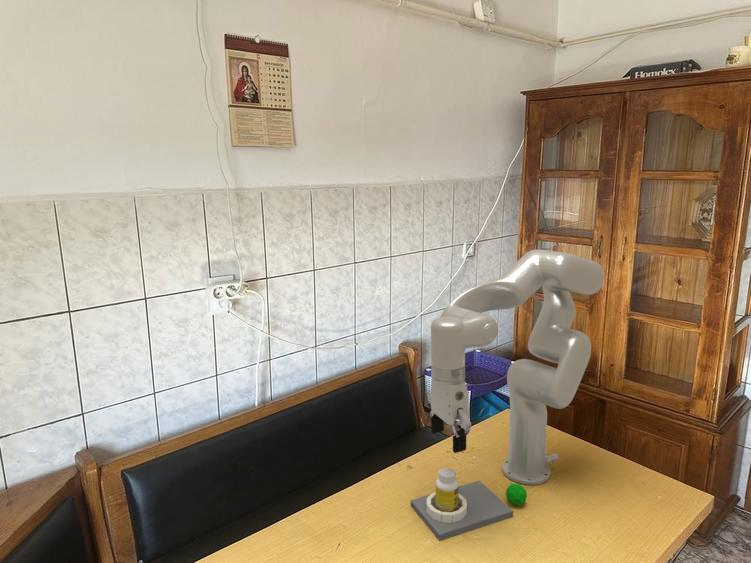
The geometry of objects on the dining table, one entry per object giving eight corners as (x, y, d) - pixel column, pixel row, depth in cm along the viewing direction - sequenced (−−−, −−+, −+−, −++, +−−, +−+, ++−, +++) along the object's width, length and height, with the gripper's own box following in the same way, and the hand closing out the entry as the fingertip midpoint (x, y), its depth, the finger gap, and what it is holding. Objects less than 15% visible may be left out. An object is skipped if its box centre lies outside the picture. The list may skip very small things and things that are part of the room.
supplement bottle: (457, 517, 124) (458, 479, 122) (434, 515, 125) (434, 477, 123) (458, 503, 129) (459, 466, 127) (436, 501, 131) (436, 464, 128)
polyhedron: (503, 497, 134) (503, 480, 133) (522, 496, 134) (522, 479, 133) (509, 510, 129) (510, 492, 128) (529, 508, 129) (530, 491, 129)
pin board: (479, 485, 139) (479, 473, 138) (512, 516, 127) (513, 503, 126) (410, 505, 132) (410, 492, 131) (439, 540, 119) (439, 526, 118)
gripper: (484, 382, 114) (483, 455, 117) (442, 357, 129) (443, 422, 133) (453, 389, 111) (453, 463, 115) (415, 362, 126) (416, 428, 130)
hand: (448, 441), depth 124 cm, fingers open, 9 cm apart
